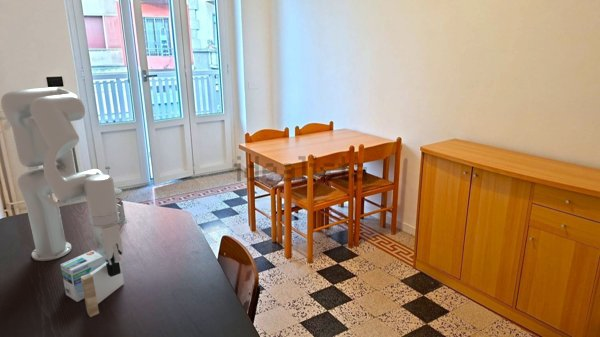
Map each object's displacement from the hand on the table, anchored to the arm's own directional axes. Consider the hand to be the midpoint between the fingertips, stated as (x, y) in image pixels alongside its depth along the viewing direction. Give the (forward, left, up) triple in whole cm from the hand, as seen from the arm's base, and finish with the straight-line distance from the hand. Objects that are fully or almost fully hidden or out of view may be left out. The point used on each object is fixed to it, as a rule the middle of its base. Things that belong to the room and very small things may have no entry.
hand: (114, 274), depth 126 cm
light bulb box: (-9, -6, -8) cm, 13 cm away
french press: (-53, +20, -8) cm, 57 cm away
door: (-2, -3, -7) cm, 8 cm away
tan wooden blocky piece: (-5, -8, -8) cm, 13 cm away
